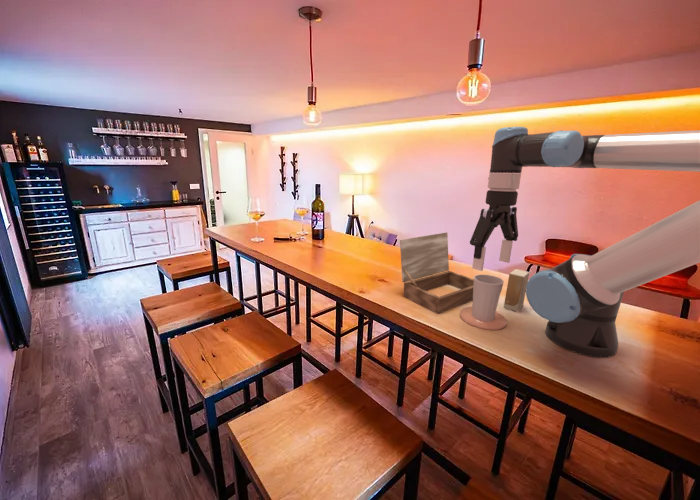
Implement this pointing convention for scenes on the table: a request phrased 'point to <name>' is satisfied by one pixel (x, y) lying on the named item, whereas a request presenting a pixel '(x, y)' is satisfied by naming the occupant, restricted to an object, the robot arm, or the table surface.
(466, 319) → the saucer
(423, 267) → the hinged wooden box
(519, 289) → the skincare box
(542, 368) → the table surface
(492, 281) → the cup
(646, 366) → the table surface
